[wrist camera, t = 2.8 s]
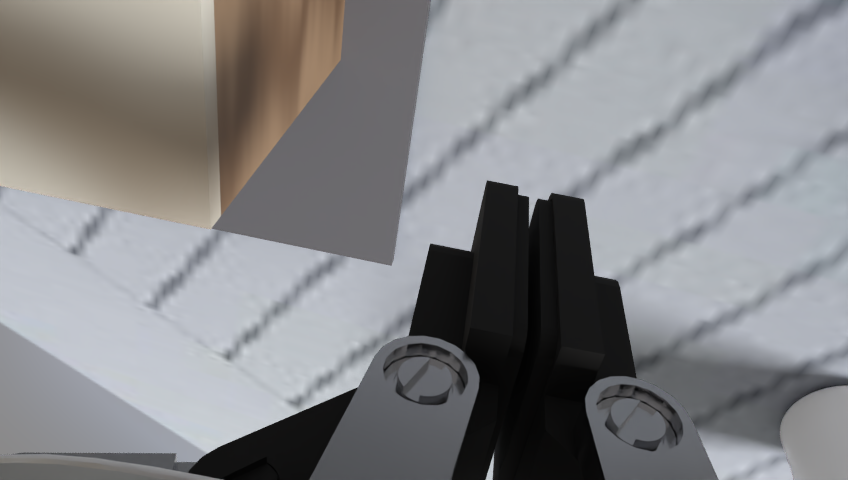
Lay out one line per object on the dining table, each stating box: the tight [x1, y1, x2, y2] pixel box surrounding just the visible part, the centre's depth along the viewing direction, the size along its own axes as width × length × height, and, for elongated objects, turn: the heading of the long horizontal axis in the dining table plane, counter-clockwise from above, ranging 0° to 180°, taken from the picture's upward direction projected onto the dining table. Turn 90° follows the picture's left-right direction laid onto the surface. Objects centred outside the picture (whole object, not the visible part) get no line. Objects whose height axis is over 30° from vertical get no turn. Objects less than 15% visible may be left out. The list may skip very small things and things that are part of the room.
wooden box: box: [0, 0, 345, 229], centre depth 19 cm, size 6×6×12 cm
